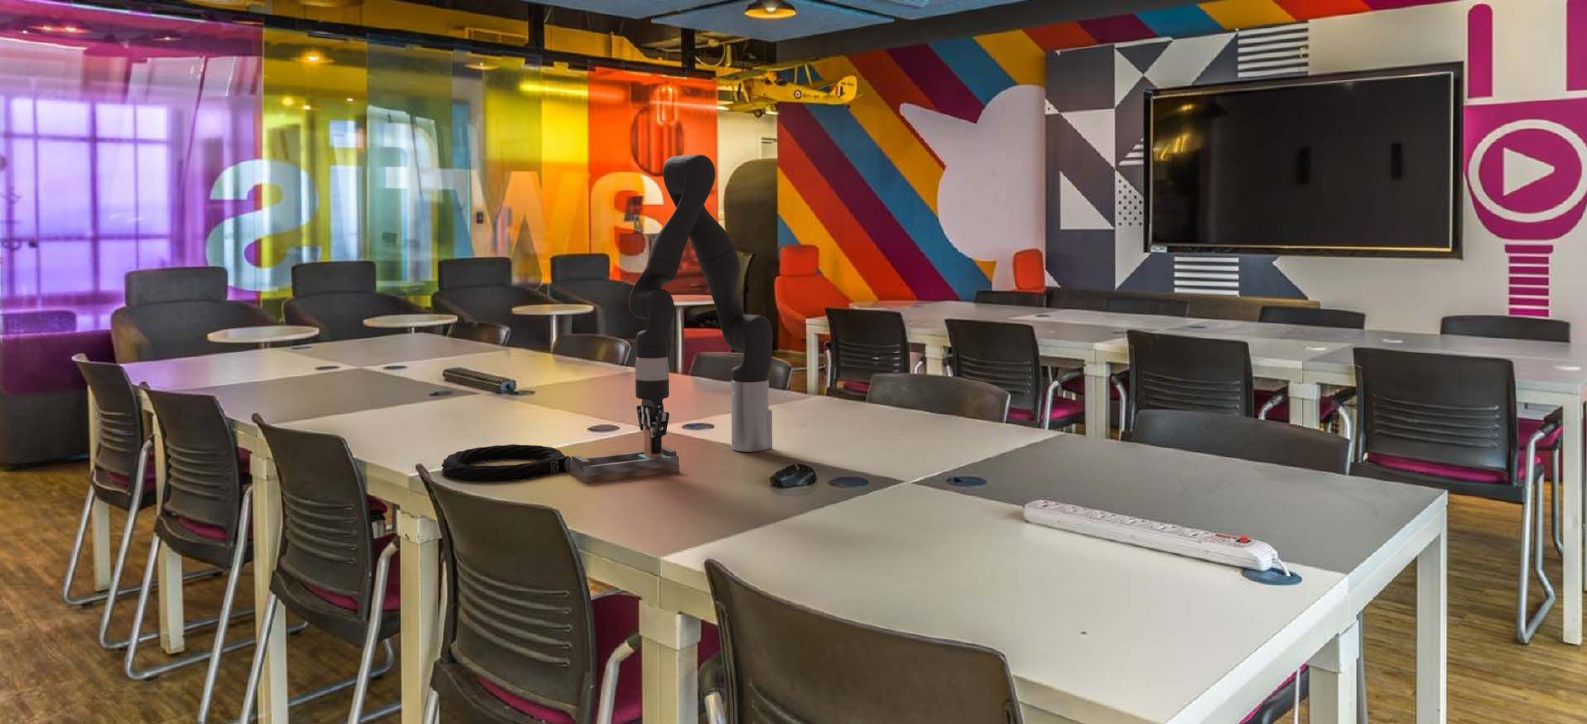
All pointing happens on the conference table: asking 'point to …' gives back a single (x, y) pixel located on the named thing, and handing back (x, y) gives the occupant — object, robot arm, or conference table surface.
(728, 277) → the robot arm
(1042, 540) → the conference table surface
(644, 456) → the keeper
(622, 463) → the board
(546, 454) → the cable lock
